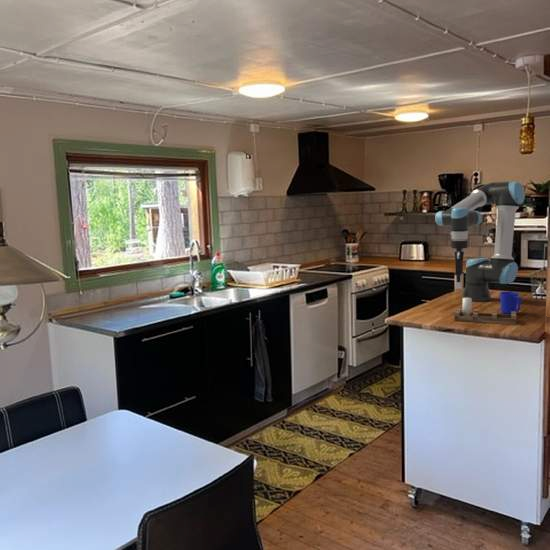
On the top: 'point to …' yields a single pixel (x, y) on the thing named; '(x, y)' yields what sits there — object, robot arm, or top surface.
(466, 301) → the plug grey
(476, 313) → the comb rack
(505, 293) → the mug
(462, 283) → the plug terracotta
